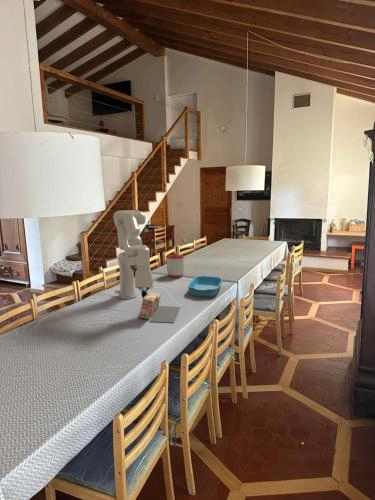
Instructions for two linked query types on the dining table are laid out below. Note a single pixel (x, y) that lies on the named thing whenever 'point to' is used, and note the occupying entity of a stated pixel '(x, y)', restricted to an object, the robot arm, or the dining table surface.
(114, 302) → the dining table surface
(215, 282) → the casserole dish
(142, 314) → the stack of blocks
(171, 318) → the mat
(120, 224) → the robot arm
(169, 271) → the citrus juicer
